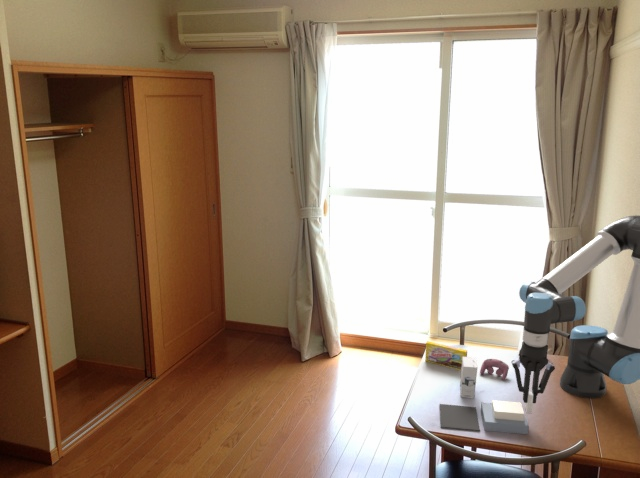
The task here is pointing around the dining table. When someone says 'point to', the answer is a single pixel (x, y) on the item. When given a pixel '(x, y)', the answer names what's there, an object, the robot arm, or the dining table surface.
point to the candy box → (444, 355)
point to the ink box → (468, 377)
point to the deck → (501, 422)
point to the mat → (459, 417)
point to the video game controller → (496, 363)
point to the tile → (507, 410)
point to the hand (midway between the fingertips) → (528, 411)
